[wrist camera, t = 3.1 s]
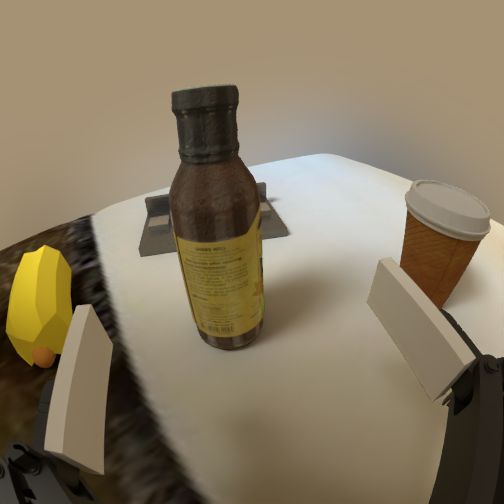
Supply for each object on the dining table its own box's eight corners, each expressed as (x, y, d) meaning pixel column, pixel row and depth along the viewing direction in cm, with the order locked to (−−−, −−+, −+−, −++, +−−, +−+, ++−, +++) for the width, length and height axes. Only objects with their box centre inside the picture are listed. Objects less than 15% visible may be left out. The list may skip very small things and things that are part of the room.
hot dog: (26, 385, 17) (85, 365, 21) (-13, 340, 13) (50, 315, 17) (32, 284, 30) (75, 268, 33) (14, 245, 26) (59, 227, 30)
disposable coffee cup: (399, 260, 32) (420, 172, 26) (460, 291, 26) (493, 202, 20) (367, 298, 27) (394, 190, 20) (442, 339, 21) (494, 233, 14)
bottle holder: (140, 256, 35) (131, 222, 32) (149, 217, 45) (144, 189, 42) (286, 235, 38) (287, 201, 35) (264, 202, 48) (264, 173, 45)
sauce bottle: (277, 332, 24) (282, 82, 13) (215, 364, 21) (172, 87, 10) (240, 293, 29) (227, 85, 18) (185, 317, 26) (144, 95, 15)
